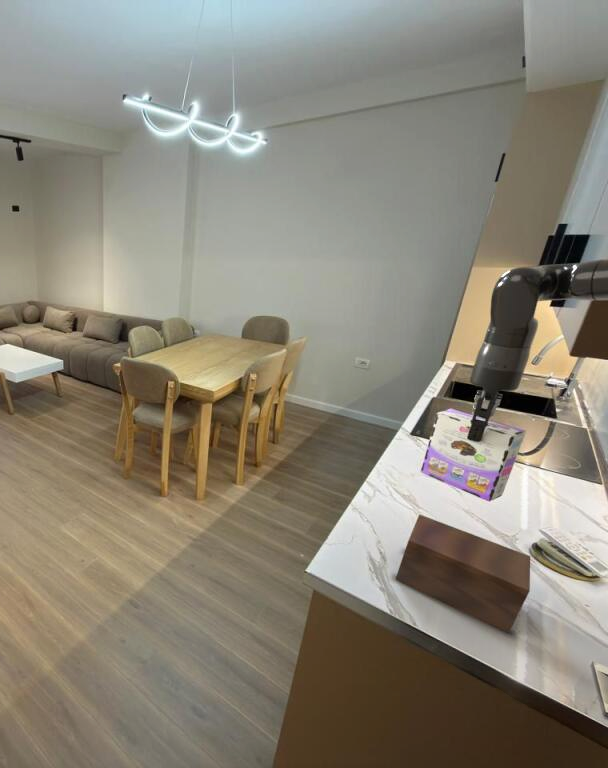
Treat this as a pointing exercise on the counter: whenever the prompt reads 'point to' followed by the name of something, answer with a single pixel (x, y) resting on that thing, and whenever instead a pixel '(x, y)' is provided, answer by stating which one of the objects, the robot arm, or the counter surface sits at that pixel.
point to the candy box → (471, 454)
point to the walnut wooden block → (466, 572)
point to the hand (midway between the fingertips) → (475, 434)
